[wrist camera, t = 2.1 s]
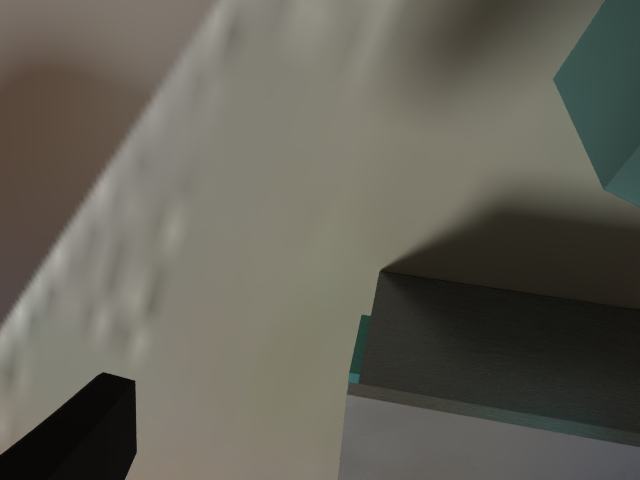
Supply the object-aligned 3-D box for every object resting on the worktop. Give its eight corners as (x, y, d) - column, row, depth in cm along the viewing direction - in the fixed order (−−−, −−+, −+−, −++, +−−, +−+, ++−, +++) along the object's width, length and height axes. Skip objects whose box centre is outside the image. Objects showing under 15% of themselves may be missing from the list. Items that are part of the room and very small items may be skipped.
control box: (663, 308, 17) (735, 464, 13) (614, 412, 20) (662, 575, 15) (370, 264, 18) (342, 393, 14) (358, 367, 21) (331, 507, 16)
